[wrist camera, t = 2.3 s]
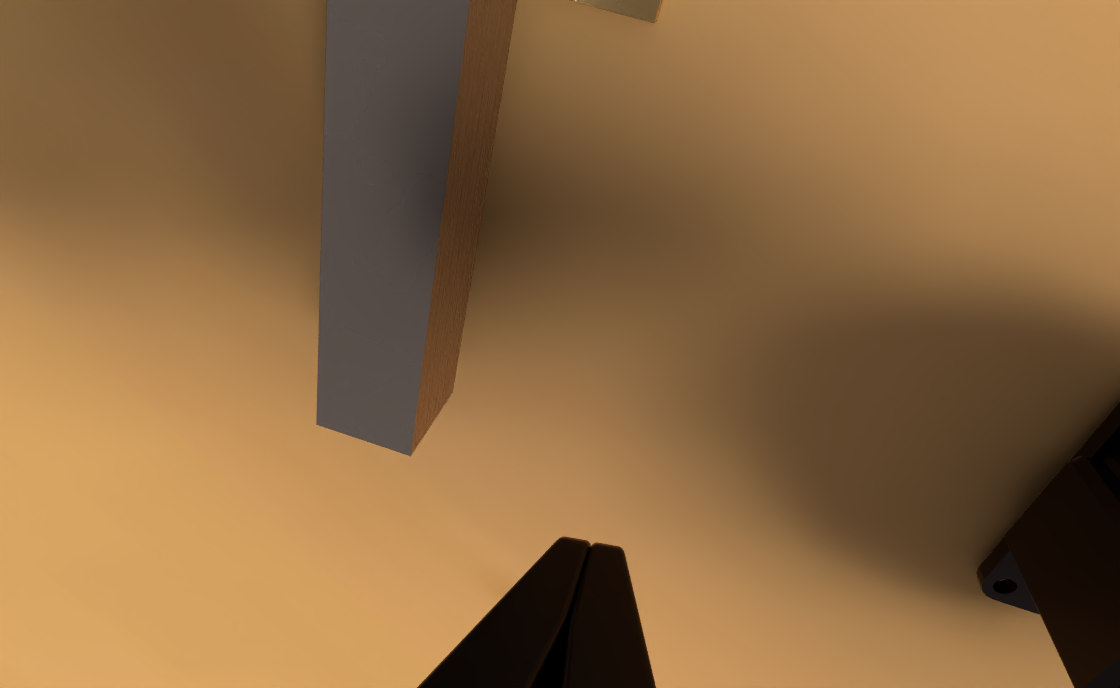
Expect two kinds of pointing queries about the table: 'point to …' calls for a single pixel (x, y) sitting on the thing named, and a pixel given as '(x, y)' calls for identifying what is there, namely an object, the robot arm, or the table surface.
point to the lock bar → (402, 204)
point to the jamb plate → (629, 7)
